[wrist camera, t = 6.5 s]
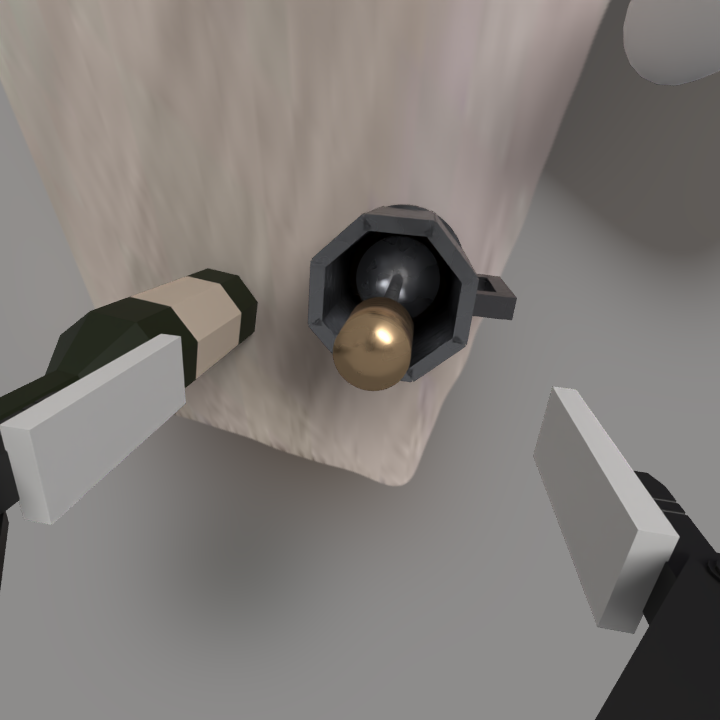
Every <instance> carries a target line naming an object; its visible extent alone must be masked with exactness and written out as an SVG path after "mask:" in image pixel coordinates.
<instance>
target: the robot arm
mask: <svg viewBox="0 0 720 720" xmlns="http://www.w3.org/2000/svg"><path fill="white" fill-rule="evenodd" d="M185 404H186V398H185V385H184V371H183V358H182V345H181V336H174V335H167V334H160V335H158V336H156V337H154V338H153V339H151V340H149V341H147V342H146V343H144V344H142V345H140V346H138V347H137V348H135V349H133V350H131V351H130V352H128V353H126V354H124V355H123V356H121V357H119V358H117V359H115V360H114V361H112V362H110V363H108V364H107V365H105V366H103V367H101V368H99V369H98V370H96V371H94V372H92V373H91V374H89V375H87V376H85V377H83V378H82V379H80V380H78V381H76V382H75V383H73V384H71V385H69V386H68V387H66V388H64V389H61V390H58V391H55V392H52V393H49V394H47V395H46V396H44V397H42V398H40V399H38V400H37V401H35V402H34V404H32V403H31V404H29V405H28V406H26V407H24V408H22V411H20V410H19V411H17V412H15V413H13V414H11V415H10V416H8V417H6V418H4V419H2V420H1V421H0V587H1V580H2V571H3V564H4V556H5V549H6V541H7V533H8V525H9V522H8V518H7V514H6V510H7V509H8V508H10V507H11V506H12V505H14V504H15V503H16V502H18V501H19V503H20V507H21V511H22V514H23V518H24V520H28V521H34V522H39V523H44V524H50V525H52V524H53V523H54V522H55V521H56V520H57V519H59V517H61V516H62V515H63V514H64V513H65V512H66V511H67V510H68V509H70V508H71V507H72V506H73V505H74V504H75V503H76V502H77V501H78V500H80V499H81V498H82V497H83V496H84V495H85V494H86V493H87V492H88V491H90V490H91V489H92V488H93V487H94V486H95V485H96V484H97V483H98V482H99V481H101V480H102V479H103V478H104V477H105V476H106V475H107V474H108V473H109V472H111V470H113V469H114V468H115V467H116V466H117V465H118V464H119V463H120V462H122V461H123V460H124V459H125V458H126V457H127V456H128V455H129V454H130V453H132V452H133V451H134V450H135V449H136V448H137V447H138V446H139V445H140V444H141V443H142V442H144V441H145V440H146V439H147V438H148V437H149V436H150V435H151V434H153V433H154V432H155V431H156V430H157V429H158V428H159V427H160V426H161V425H162V424H163V423H164V422H166V421H167V420H168V419H169V418H170V417H171V416H172V415H173V414H175V413H176V412H177V411H178V410H179V409H180V408H181V407H182V406H183V405H185ZM533 457H534V459H535V462H536V465H537V467H538V470H539V473H540V475H541V478H542V480H543V483H544V486H545V488H546V491H547V494H548V496H549V499H550V502H551V504H552V507H553V510H554V512H555V515H556V518H557V520H558V523H559V526H560V528H561V531H562V534H563V536H564V539H565V542H566V544H567V547H568V550H569V552H570V555H571V558H572V560H573V563H574V566H575V568H576V571H577V574H578V576H579V579H580V582H581V584H582V587H583V590H584V592H585V595H586V598H587V600H588V603H589V605H590V608H591V611H592V614H593V616H594V619H595V622H596V624H597V627H600V628H605V629H610V630H616V631H621V632H627V633H632V634H634V633H635V631H636V629H637V626H638V625H639V623H640V620H641V618H642V616H643V614H644V616H645V618H646V620H647V622H648V624H649V628H648V629H647V631H646V633H645V635H644V636H643V638H642V640H641V641H640V643H639V645H638V647H637V648H636V650H635V652H634V653H633V655H632V657H631V659H630V660H629V662H628V664H627V665H626V667H625V669H624V671H623V672H622V674H621V676H620V678H619V679H618V681H617V683H616V685H615V686H614V688H613V690H612V691H611V693H610V695H609V697H608V698H607V700H606V702H605V703H604V705H603V707H602V709H601V710H600V712H599V714H598V715H597V717H596V719H595V720H720V553H716V552H715V550H714V549H713V548H712V546H711V545H710V544H709V543H708V541H707V540H706V539H705V537H704V536H703V535H702V534H701V532H700V531H699V530H698V528H697V527H696V526H695V524H694V523H693V522H692V520H691V519H690V518H689V517H688V516H687V515H685V511H684V510H683V509H682V508H681V506H680V505H679V504H678V503H676V500H675V498H674V497H673V496H672V495H671V493H670V492H669V491H668V489H667V488H666V487H665V486H664V485H663V484H661V483H660V482H659V481H657V480H656V479H655V478H653V477H652V476H651V475H649V474H648V473H644V472H638V471H633V470H632V468H631V467H630V466H629V464H628V463H627V461H626V460H625V458H624V457H623V455H622V454H621V453H620V451H619V450H618V448H617V447H616V446H615V444H614V443H613V441H612V440H611V438H610V437H609V436H608V434H607V433H606V431H605V430H604V428H603V427H602V426H601V424H600V423H599V421H598V420H597V419H596V417H595V416H594V414H593V413H592V412H591V410H590V409H589V407H588V406H587V404H586V403H585V401H584V400H583V399H582V397H581V396H580V394H579V393H578V391H577V390H575V389H567V388H560V387H552V390H551V394H550V397H549V401H548V404H547V409H546V412H545V415H544V419H543V422H542V426H541V430H540V433H539V437H538V440H537V444H536V447H535V451H534V455H533Z"/></svg>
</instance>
